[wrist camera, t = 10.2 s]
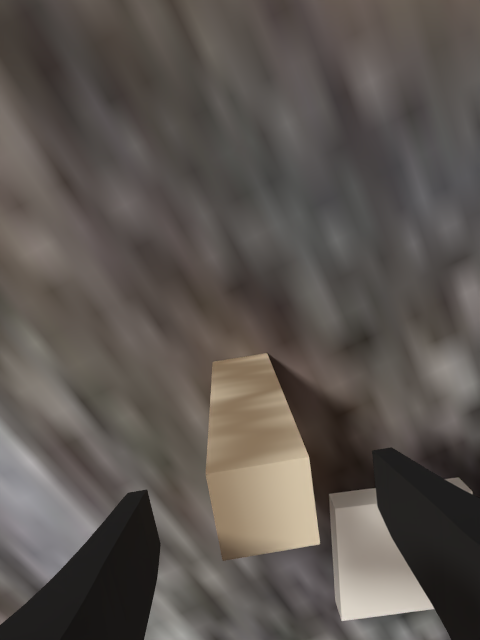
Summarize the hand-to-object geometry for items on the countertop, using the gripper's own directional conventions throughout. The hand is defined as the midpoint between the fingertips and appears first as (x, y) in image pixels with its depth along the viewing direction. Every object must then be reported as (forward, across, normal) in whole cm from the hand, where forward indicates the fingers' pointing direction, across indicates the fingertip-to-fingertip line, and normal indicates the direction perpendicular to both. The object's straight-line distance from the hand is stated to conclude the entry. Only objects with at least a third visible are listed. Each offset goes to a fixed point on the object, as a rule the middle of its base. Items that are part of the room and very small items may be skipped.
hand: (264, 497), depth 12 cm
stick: (+9, 0, 0) cm, 9 cm away
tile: (+9, -8, +8) cm, 14 cm away
